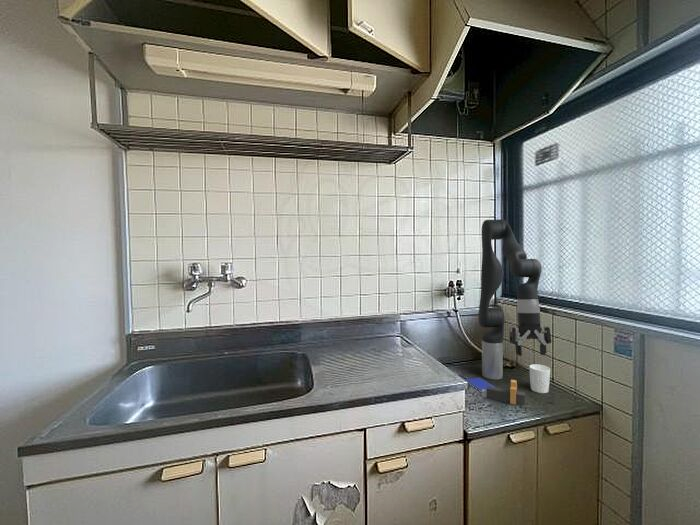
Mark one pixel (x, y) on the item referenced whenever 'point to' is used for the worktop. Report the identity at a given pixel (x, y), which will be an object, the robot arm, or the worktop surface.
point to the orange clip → (513, 392)
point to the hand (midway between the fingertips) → (531, 355)
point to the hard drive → (479, 383)
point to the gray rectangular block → (502, 395)
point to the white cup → (539, 378)
